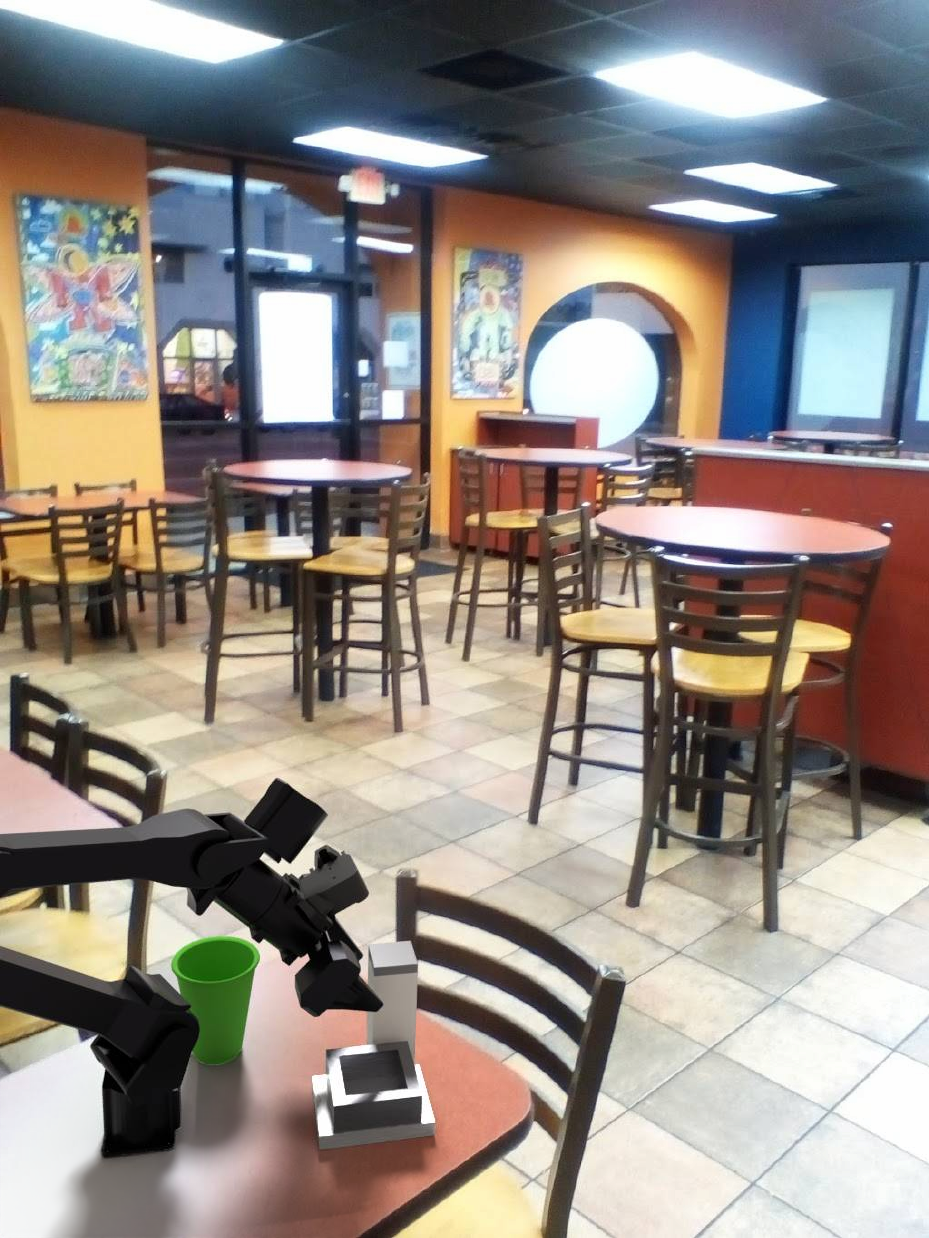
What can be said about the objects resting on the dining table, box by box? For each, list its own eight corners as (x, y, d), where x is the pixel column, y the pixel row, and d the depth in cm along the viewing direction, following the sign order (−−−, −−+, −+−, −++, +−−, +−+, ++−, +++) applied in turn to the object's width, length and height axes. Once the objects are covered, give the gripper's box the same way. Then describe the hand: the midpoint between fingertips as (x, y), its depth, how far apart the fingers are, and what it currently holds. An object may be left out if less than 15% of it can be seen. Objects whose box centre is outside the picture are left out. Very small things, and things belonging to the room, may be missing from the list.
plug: (371, 1075, 106) (374, 967, 103) (366, 1048, 110) (368, 944, 107) (414, 1070, 107) (417, 963, 104) (407, 1043, 111) (410, 940, 108)
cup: (158, 1046, 109) (155, 954, 106) (233, 1014, 115) (232, 926, 112) (199, 1090, 102) (197, 993, 100) (276, 1054, 108) (276, 961, 106)
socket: (319, 1149, 95) (320, 1108, 94) (312, 1089, 103) (312, 1050, 102) (434, 1135, 97) (436, 1094, 96) (418, 1076, 106) (419, 1038, 105)
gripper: (337, 883, 92) (450, 974, 98) (303, 802, 109) (401, 884, 115) (250, 973, 91) (369, 1060, 97) (230, 878, 108) (332, 956, 114)
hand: (369, 982), depth 106 cm, fingers open, 9 cm apart
